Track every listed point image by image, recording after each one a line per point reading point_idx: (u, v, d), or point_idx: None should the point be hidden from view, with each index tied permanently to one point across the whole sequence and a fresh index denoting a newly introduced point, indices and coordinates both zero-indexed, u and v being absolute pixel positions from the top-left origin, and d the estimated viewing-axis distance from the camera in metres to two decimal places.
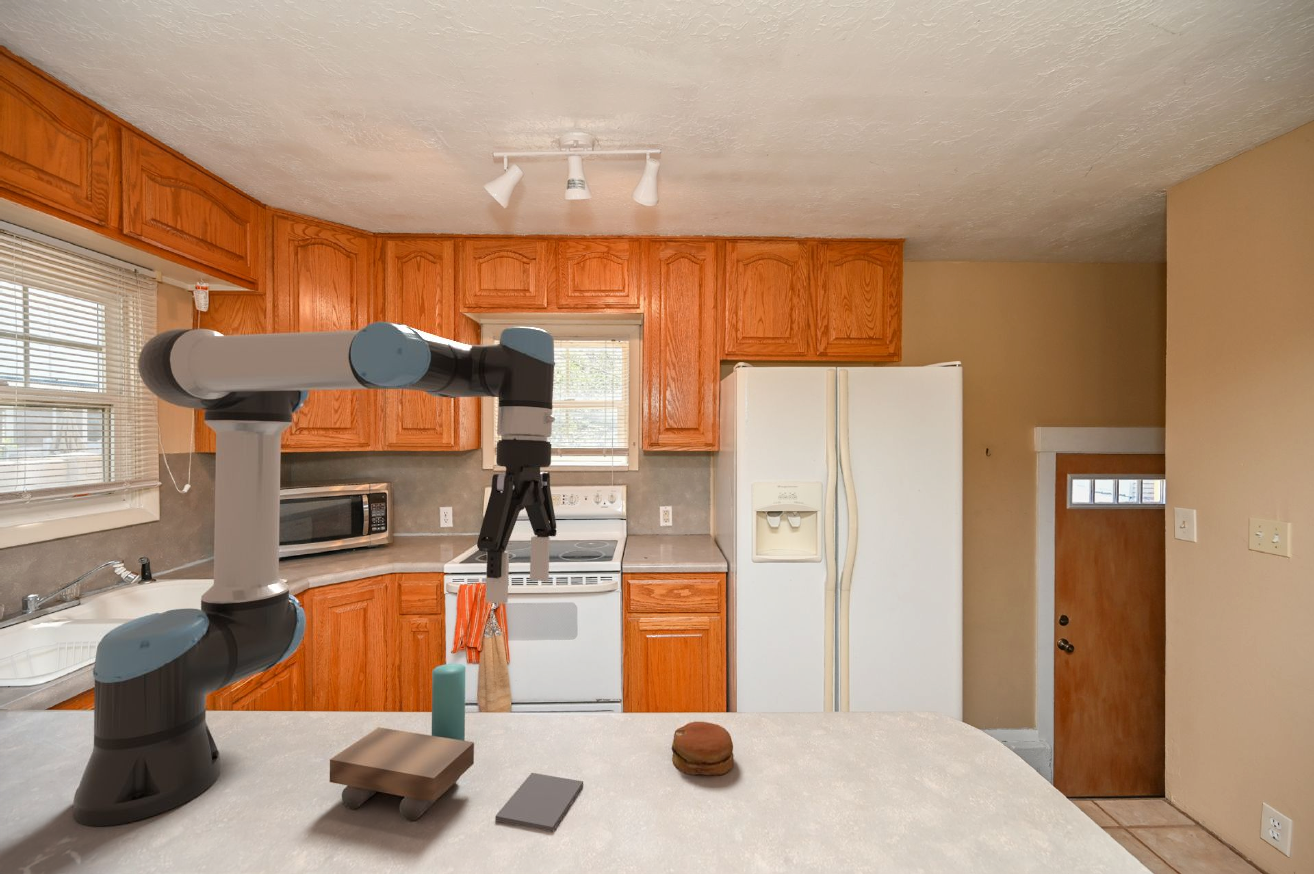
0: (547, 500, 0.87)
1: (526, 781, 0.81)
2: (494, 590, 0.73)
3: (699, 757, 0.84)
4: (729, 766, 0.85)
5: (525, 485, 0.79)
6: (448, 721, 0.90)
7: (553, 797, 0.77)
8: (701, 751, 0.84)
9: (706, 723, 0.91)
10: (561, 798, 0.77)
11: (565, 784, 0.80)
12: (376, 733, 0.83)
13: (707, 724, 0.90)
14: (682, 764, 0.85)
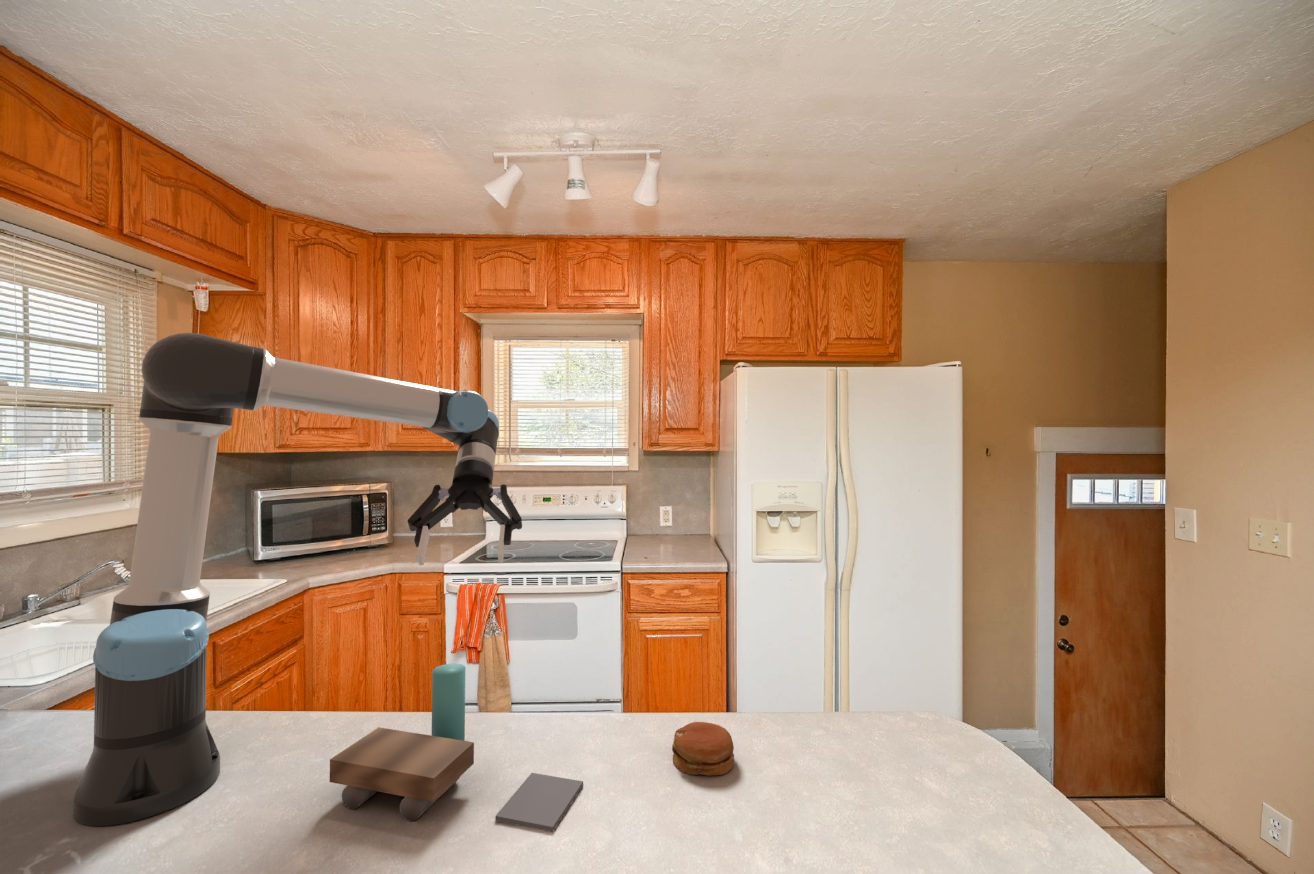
0: (432, 509, 1.09)
1: (526, 781, 0.81)
2: (503, 550, 1.03)
3: (700, 757, 0.83)
4: (730, 766, 0.85)
5: None
6: (448, 721, 0.90)
7: (553, 797, 0.77)
8: (701, 752, 0.84)
9: (706, 723, 0.90)
10: (561, 798, 0.77)
11: (565, 784, 0.80)
12: (376, 733, 0.83)
13: (708, 725, 0.90)
14: (683, 764, 0.85)
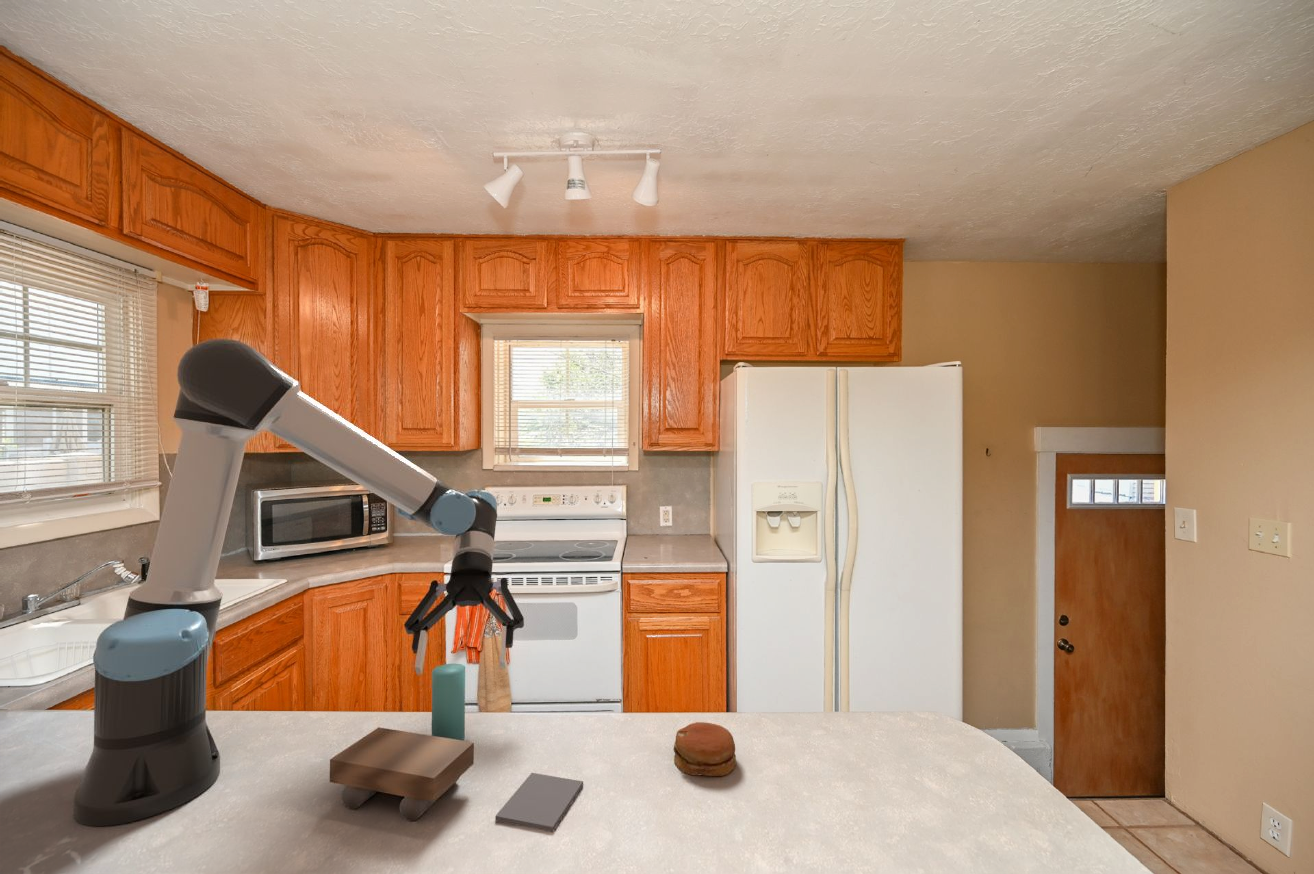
0: (430, 607, 1.05)
1: (526, 781, 0.81)
2: None
3: (701, 757, 0.83)
4: (731, 767, 0.85)
5: None
6: (448, 721, 0.90)
7: (553, 797, 0.77)
8: (703, 752, 0.84)
9: (708, 724, 0.90)
10: (561, 798, 0.77)
11: (565, 784, 0.80)
12: (376, 733, 0.83)
13: (709, 725, 0.90)
14: (684, 765, 0.85)
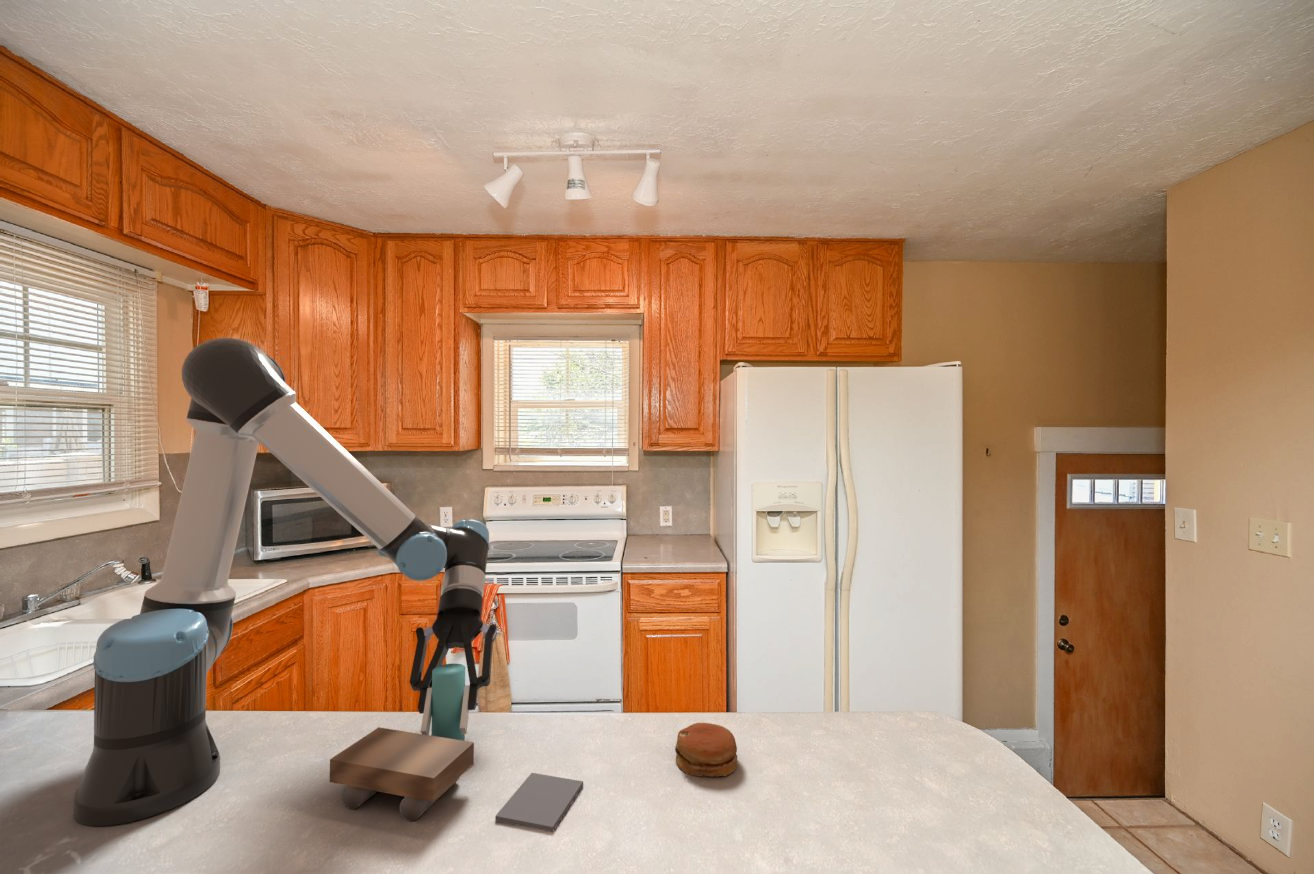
0: None
1: (526, 781, 0.81)
2: (466, 720, 0.90)
3: (703, 758, 0.83)
4: (733, 768, 0.84)
5: None
6: (448, 721, 0.90)
7: (553, 797, 0.77)
8: (704, 753, 0.84)
9: (710, 724, 0.90)
10: (561, 798, 0.77)
11: (565, 784, 0.80)
12: (376, 733, 0.83)
13: (711, 726, 0.89)
14: (685, 765, 0.85)
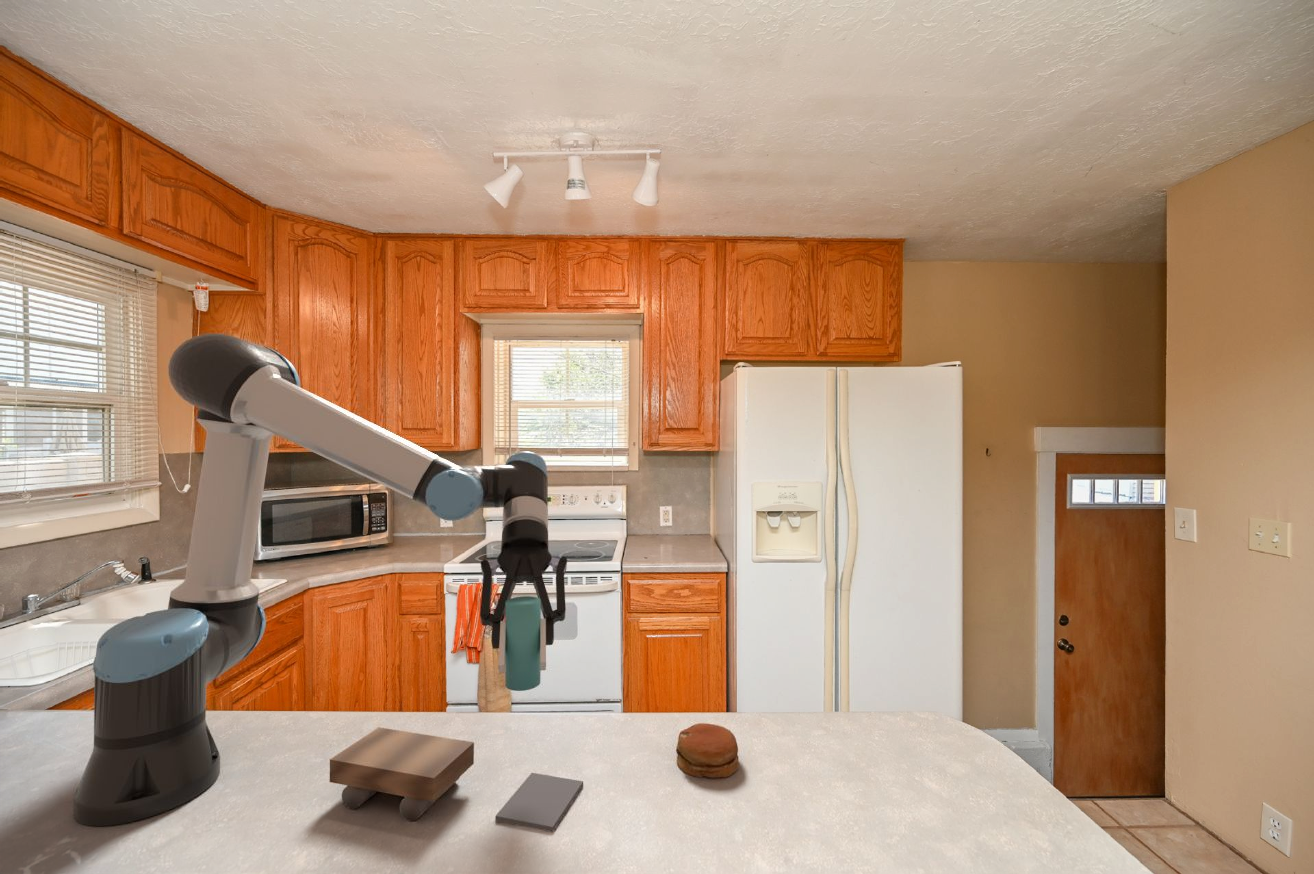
0: (491, 590, 0.88)
1: (526, 781, 0.81)
2: None
3: (704, 759, 0.83)
4: (734, 769, 0.84)
5: None
6: (525, 656, 0.81)
7: (553, 797, 0.77)
8: (705, 754, 0.83)
9: (711, 725, 0.90)
10: (561, 798, 0.77)
11: (565, 784, 0.80)
12: (376, 733, 0.83)
13: (712, 726, 0.89)
14: (687, 766, 0.85)
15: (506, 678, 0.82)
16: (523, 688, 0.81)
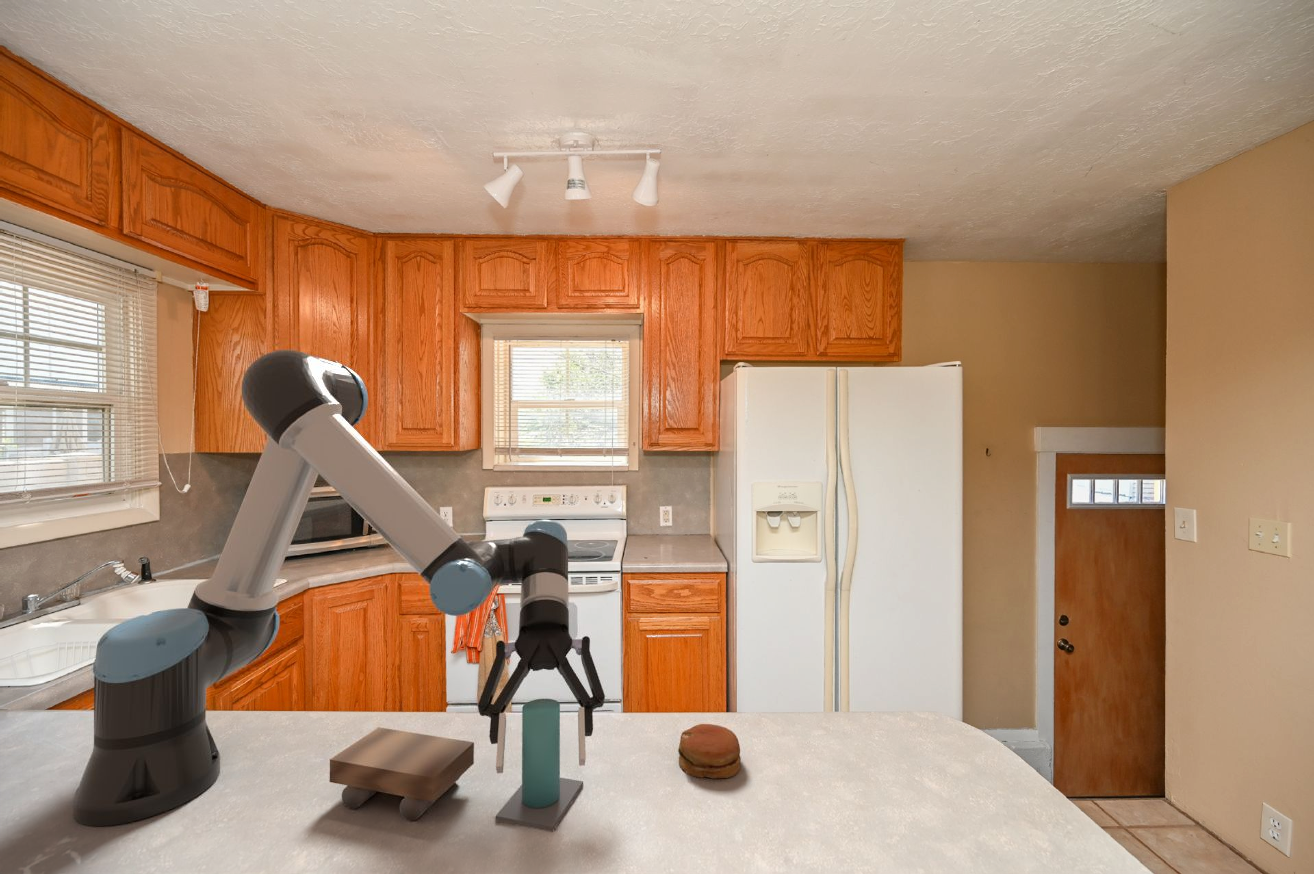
0: (500, 675, 0.83)
1: None
2: None
3: (706, 759, 0.83)
4: (736, 769, 0.84)
5: None
6: (543, 769, 0.75)
7: None
8: (707, 754, 0.83)
9: (713, 726, 0.90)
10: (561, 798, 0.77)
11: (565, 784, 0.80)
12: (376, 733, 0.83)
13: (714, 727, 0.89)
14: (688, 767, 0.84)
15: (523, 792, 0.76)
16: (542, 804, 0.75)
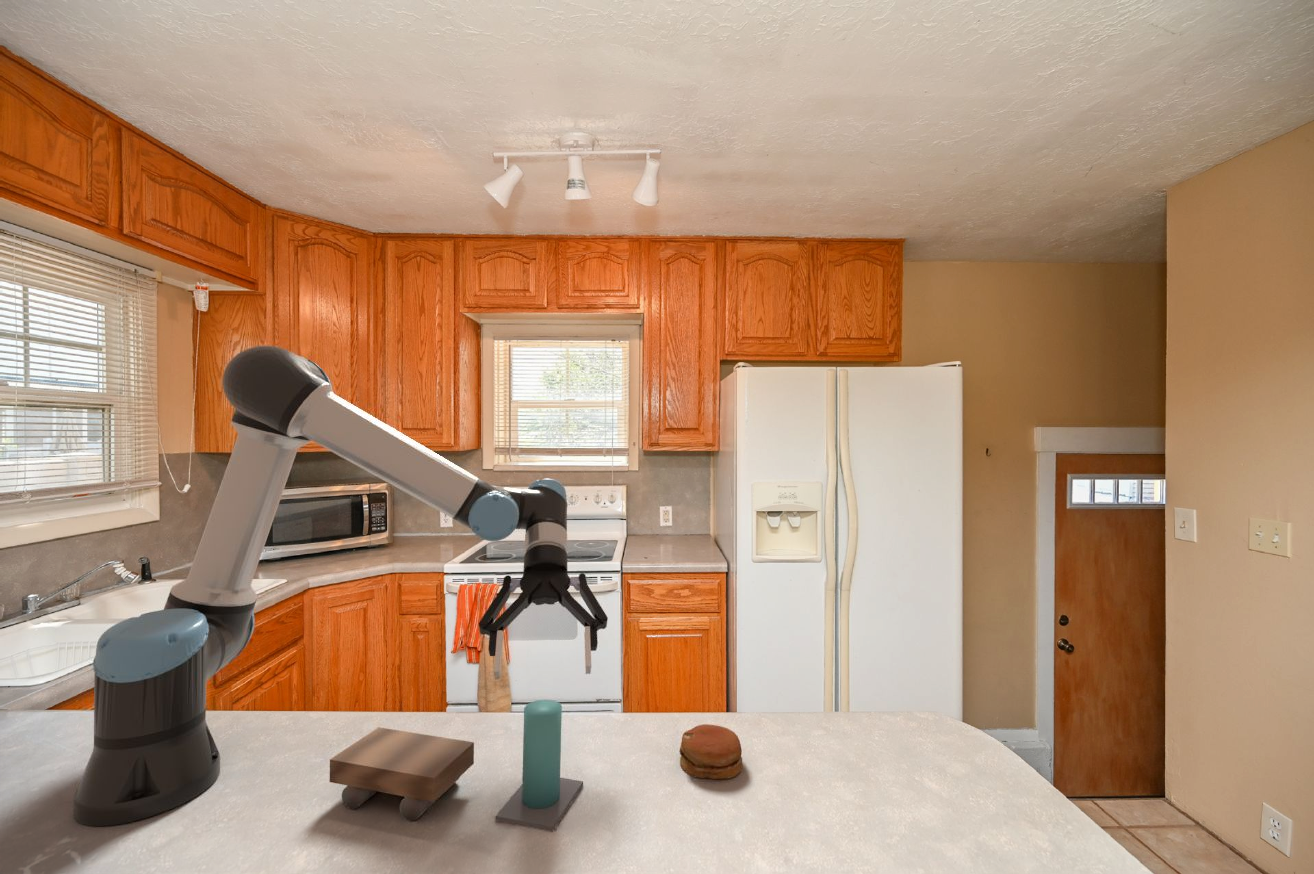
0: (503, 605, 0.95)
1: None
2: None
3: (707, 760, 0.83)
4: (737, 770, 0.84)
5: None
6: (544, 771, 0.75)
7: None
8: (708, 755, 0.83)
9: (714, 726, 0.90)
10: (561, 798, 0.77)
11: (565, 784, 0.80)
12: (376, 733, 0.83)
13: (716, 728, 0.89)
14: (690, 767, 0.84)
15: (523, 793, 0.76)
16: (542, 805, 0.75)
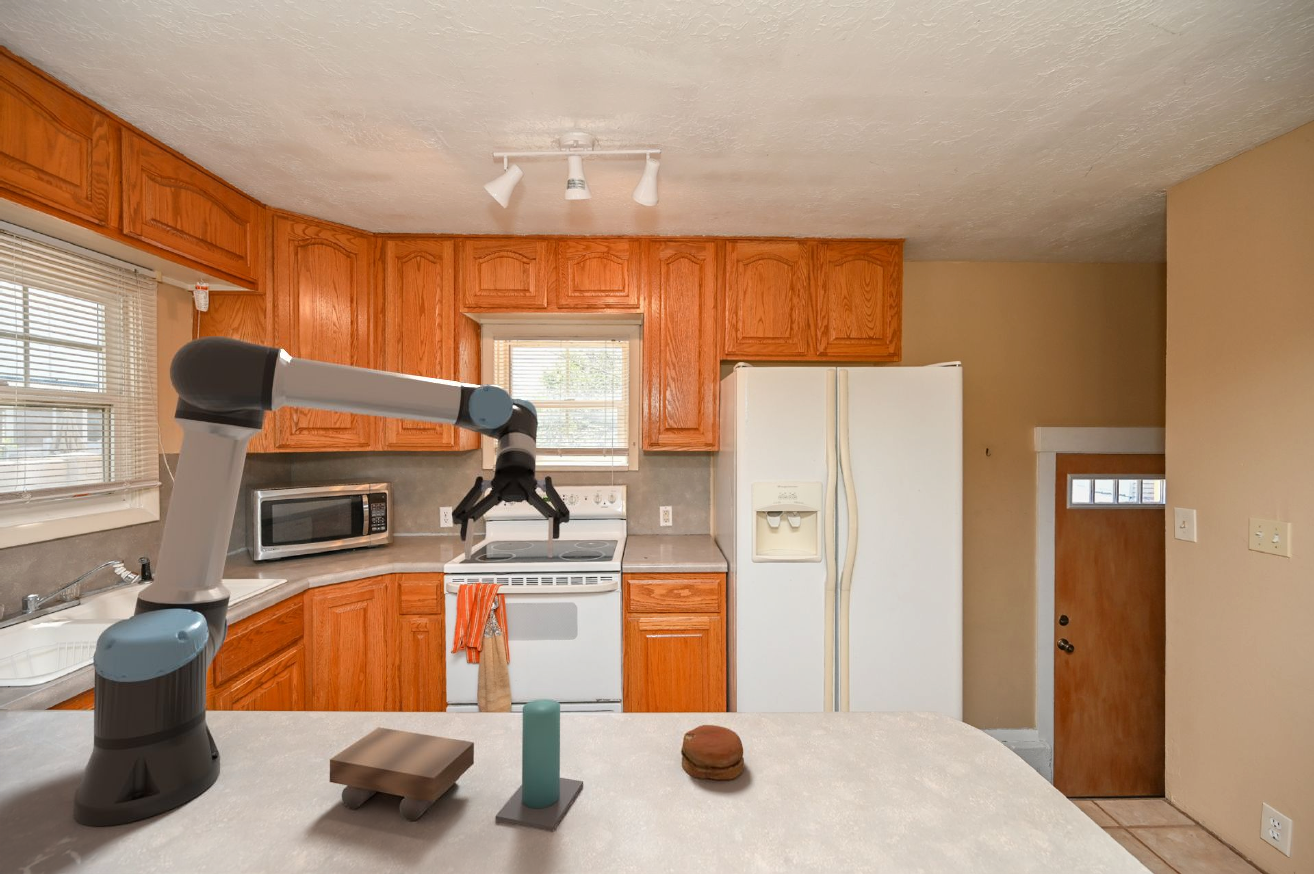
0: (475, 501, 1.05)
1: None
2: None
3: (709, 761, 0.83)
4: (739, 771, 0.84)
5: None
6: (544, 770, 0.75)
7: None
8: (710, 755, 0.83)
9: (716, 727, 0.89)
10: (561, 798, 0.77)
11: (565, 784, 0.80)
12: (376, 733, 0.83)
13: (717, 728, 0.89)
14: (691, 768, 0.84)
15: (523, 793, 0.76)
16: (542, 805, 0.75)
